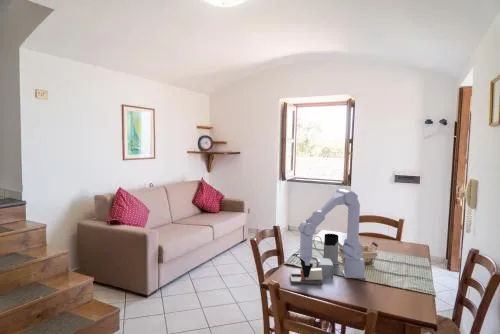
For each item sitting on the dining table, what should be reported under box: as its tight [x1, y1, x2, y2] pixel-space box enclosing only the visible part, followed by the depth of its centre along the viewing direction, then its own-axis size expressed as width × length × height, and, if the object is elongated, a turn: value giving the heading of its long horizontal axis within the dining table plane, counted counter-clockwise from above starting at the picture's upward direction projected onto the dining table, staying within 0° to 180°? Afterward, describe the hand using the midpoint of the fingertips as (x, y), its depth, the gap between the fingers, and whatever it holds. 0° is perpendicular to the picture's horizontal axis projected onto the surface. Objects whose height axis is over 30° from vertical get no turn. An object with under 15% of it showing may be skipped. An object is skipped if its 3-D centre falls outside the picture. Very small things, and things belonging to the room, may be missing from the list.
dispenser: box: [315, 257, 334, 279], centre depth 162 cm, size 7×9×7 cm
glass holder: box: [312, 233, 339, 265], centre depth 179 cm, size 9×14×15 cm, turn 71°
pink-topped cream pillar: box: [300, 267, 323, 280], centre depth 154 cm, size 10×2×4 cm, turn 86°
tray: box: [289, 272, 323, 286], centre depth 154 cm, size 14×9×2 cm, turn 86°
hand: (305, 274), depth 154 cm, fingers open, 6 cm apart
